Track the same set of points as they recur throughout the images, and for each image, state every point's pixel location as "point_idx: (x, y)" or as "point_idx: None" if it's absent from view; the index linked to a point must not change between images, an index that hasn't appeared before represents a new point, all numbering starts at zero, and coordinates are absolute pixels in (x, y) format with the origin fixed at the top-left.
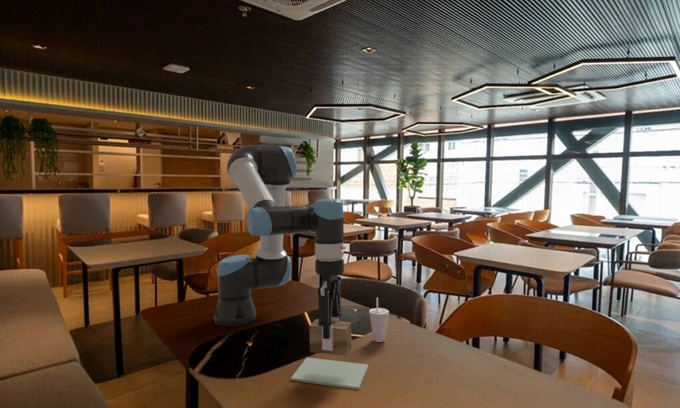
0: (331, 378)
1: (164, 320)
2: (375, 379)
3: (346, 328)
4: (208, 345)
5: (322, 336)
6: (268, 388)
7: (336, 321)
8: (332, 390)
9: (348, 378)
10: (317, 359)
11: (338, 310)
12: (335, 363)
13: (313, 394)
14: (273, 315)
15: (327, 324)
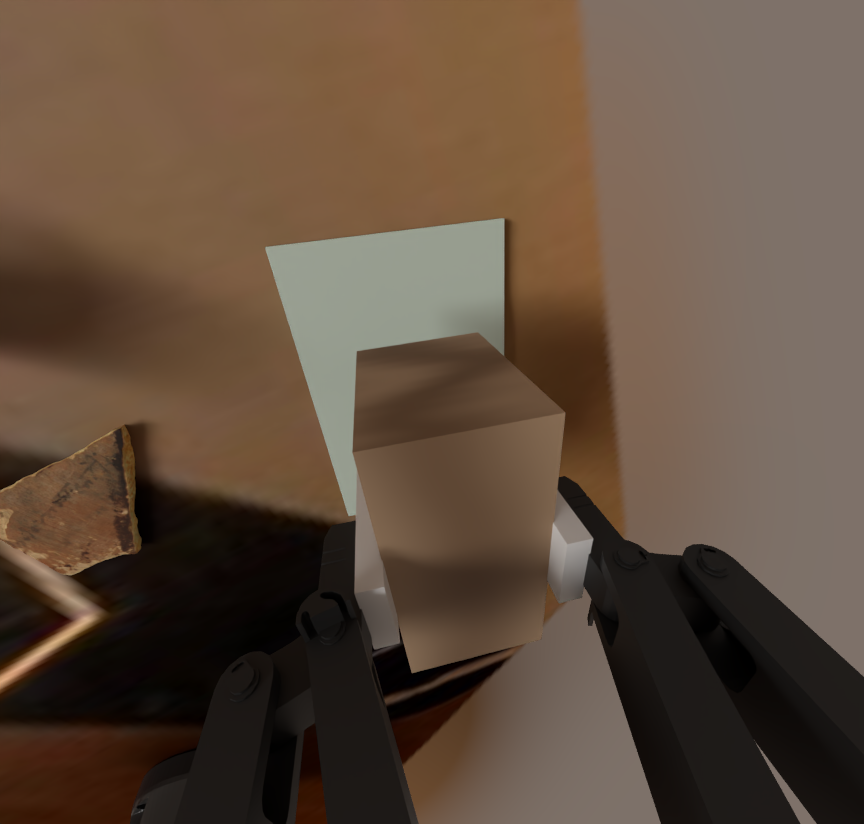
0: None
1: None
2: (381, 158)
3: (545, 421)
4: (396, 708)
5: None
6: None
7: (393, 565)
8: (529, 328)
9: (445, 297)
10: (344, 479)
11: (332, 681)
12: (341, 405)
13: (565, 377)
14: (93, 752)
15: (734, 566)
